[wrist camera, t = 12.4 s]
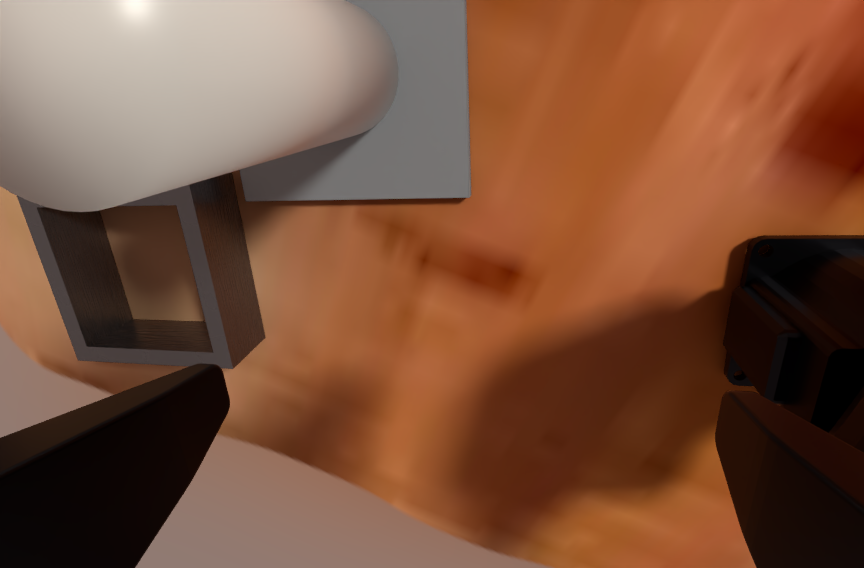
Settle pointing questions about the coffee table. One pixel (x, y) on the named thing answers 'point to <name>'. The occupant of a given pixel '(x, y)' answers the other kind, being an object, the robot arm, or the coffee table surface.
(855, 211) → the coffee table surface
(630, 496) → the coffee table surface
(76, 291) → the grey square tray
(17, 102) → the white plug
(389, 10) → the slate mat
